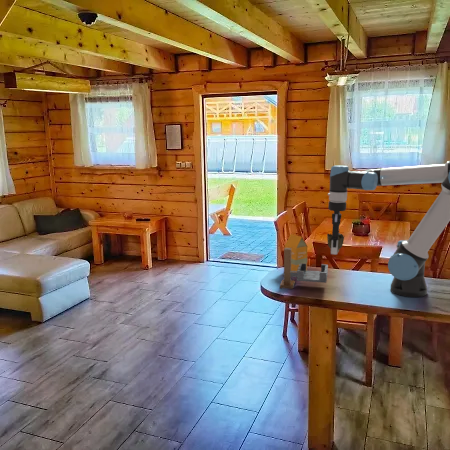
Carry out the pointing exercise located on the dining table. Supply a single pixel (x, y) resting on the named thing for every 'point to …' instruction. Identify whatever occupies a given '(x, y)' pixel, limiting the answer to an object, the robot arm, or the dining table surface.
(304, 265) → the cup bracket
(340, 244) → the cup
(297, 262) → the orange juice
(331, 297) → the dining table surface
